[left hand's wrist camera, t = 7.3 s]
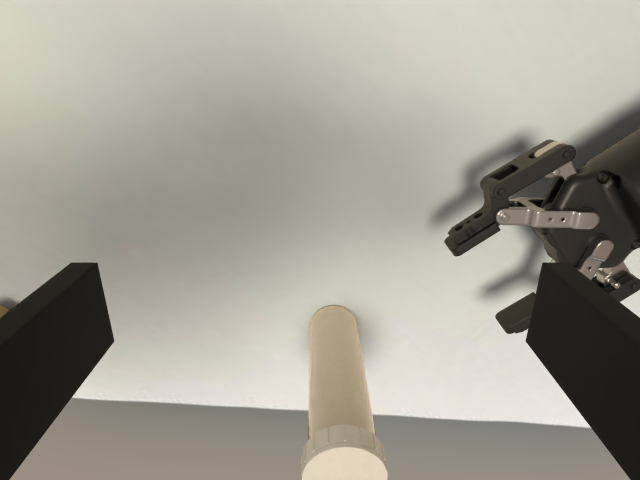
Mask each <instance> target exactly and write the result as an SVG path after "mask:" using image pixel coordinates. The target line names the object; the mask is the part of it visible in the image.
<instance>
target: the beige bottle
mask: <svg viewBox="0 0 640 480" xmlns="http://www.w3.org/2000/svg"><path fill="white" fill-rule="evenodd" d="M343 424H344V425H354V426H358V427H359V426H360V427H362V428H364V429H366V430H368V431H370V432H371V433H374V435H375V428H374V422H373V416H372V410H371V404H370V398H369V392H368V386H367V380H366V374H365V368H364V362H363V356H362V350H361V344H360V338H359V332H358V326H357V320H356V318H355V316H354V314H353V313H352V312H351V311H350V310H348V309H346V308H344V307H342V306H336V305H333V306H327V307H324V308H322V309H320V310H318V311H317V312H316V313H315V314H314V316H313V317H312V319H311V322H310V361H309V416H308V440H309V439H310V438H311V437H312V436H313V434H315V433H317V432H318V431H320V430H322V429H324V428H326V427H330V426H335V425H343ZM375 436H376V435H375Z"/></svg>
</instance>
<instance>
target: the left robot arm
mask: <svg viewBox="0 0 640 480" xmlns="http://www.w3.org/2000/svg"><path fill="white" fill-rule="evenodd" d="M113 342H114V338H113V333H112V329H111V324H110V319H109V315H108V310H107V305H106V301H105V296H104V291H103V287H102V282H101V277H100V273H99V268H98V263H70V264H69V265H68V266H67V267H65V268H64V269H63V270H61V271H60V272H59V273H57V274H56V275H55V276H54V277H52V278H51V279H50V280H48V281H47V282H46V283H45V284H43V285H42V286H41V287H39V288H38V289H37V290H36V291H34V292H33V293H32V294H30V295H29V296H28V297H27V298H25V299H24V300H23V301H21V302H20V303H19V304H18V305H16V306H15V307H14V308H12V309H11V310H10V311H9V312H7V313H6V314H5V315H3V316H2V317H1V318H0V480H9V479H10V478H11V477H12V475H13V474H14V473H15V471H16V470H17V469H18V467H19V466H20V465H21V463H22V462H23V461H24V460H25V458H26V457H27V456H28V454H29V453H30V452H31V450H32V449H33V448H34V446H35V445H36V444H37V442H38V441H39V440H40V438H41V437H42V436H43V435H44V433H45V432H46V431H47V429H48V428H49V427H50V425H51V424H52V423H53V421H54V420H55V419H56V417H57V416H58V415H59V413H60V412H61V411H62V409H63V408H64V407H65V405H66V404H67V403H68V401H69V400H70V399H71V398H72V396H73V395H74V394H75V392H76V391H77V390H78V388H79V387H80V386H81V384H82V383H83V382H84V380H85V379H86V378H87V376H88V375H89V374H90V373H91V371H92V370H93V369H94V367H95V366H96V365H97V363H98V362H99V361H100V359H101V358H102V357H103V355H104V354H105V353H106V351H107V350H108V349H109V347H110V346H111V345H112V344H113ZM526 342H527V344H528V345H529V346H530V347H531V349H532V350H533V351H534V353H535V354H536V355H537V357H538V358H539V359H540V361H541V362H542V363H543V365H544V366H545V367H546V369H547V370H548V371H549V373H550V374H551V375H552V376H553V378H554V379H555V380H556V382H557V383H558V384H559V386H560V387H561V388H562V390H563V391H564V392H565V394H566V395H567V396H568V398H569V399H570V400H571V402H572V403H573V404H574V405H575V407H576V408H577V409H578V411H579V412H580V413H581V415H582V416H583V417H584V419H585V420H586V421H587V423H588V424H589V425H590V427H591V428H592V429H593V431H594V432H595V433H596V435H597V436H598V437H599V438H600V440H601V441H602V442H603V444H604V445H605V446H606V448H607V449H608V450H609V452H610V453H611V454H612V456H613V457H614V458H615V460H616V461H617V462H618V464H619V465H620V466H621V467H622V469H623V470H624V471H625V473H626V474H627V475H628V477H629V478H630V479H631V480H640V318H639V317H638V316H637V315H635V314H634V313H633V312H631V311H630V310H629V309H628V308H626V307H625V306H624V305H622V304H621V303H620V302H619V301H617V300H616V299H615V298H613V297H612V296H611V295H610V294H608V293H607V292H606V291H604V290H603V289H602V288H601V287H599V286H598V285H597V284H595V283H594V282H593V281H592V280H590V279H589V278H588V277H586V276H585V275H584V274H583V273H581V272H580V271H579V270H577V269H576V268H575V267H573V266H572V265H571V264H570V263H542V268H541V273H540V277H539V282H538V287H537V291H536V296H535V301H534V305H533V310H532V315H531V319H530V324H529V329H528V333H527V338H526Z"/></svg>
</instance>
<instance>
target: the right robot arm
mask: <svg viewBox="0 0 640 480" xmlns="http://www.w3.org/2000/svg"><path fill="white" fill-rule="evenodd" d="M575 154H576V151H575V148H574V147H573V146H570V145H567V144H564V143H560V142H557V141H554V140H546V141H544V142H543V143H541V144H539V145H538V146H536V147H534V148H533V149H531V150H529V151H528V152H526V153H524V154H522V155H521V156H519V157H517V158H516V159H514V160H512V161H511V162H509V163H507V164H505V165H504V166H502V167H500V168H499V169H497V170H495V171H494V172H492V173H490V174H489V175H487V176H485V177H484V178H483V179H482V180H481V182H480V186H481V188H482V189H483V192H484V198H485V202H484V205H483V207H482V208H481V209H480V210H478V211H477V212H475V213H474V214H472V215H471V216H469V217H467V218H466V219H464V220H463V221H461V222H460V223H458V224H457V225H455V226H454V227H452V228H451V230H450V231H449V232H448V234H449V235H450V236H449V237H447V238H446V239H445V241H444V242H445V244H446V245H447V247H448V248H449V250H450V251H451V252H452V254H453V255H454V256H460V255H462V254H463V253H465V252H467V251H468V250H470V249H471V248H473V247H475V246H476V245H478V244H479V243H481V242H483V241H484V240H486V239H487V238H489V237H491V236H492V235H494V234H495V233H497V232H498V231H500V228H499V227H498V226H499V225H500V224H501V225H528V226H531V227H532V228H533V230H534V231H535V233H536V234H537V235H538V236H539V237H540V238H541V239H543V243H544V248H545V250H546V252H547V253H548V255H549V256H550V257H551V258H552V260H551V262H550V263H570V264H571V265H572V266H573V267H575V268H576V269H577V270H579V271H580V272H581V273H583V274H584V275H585V276H586V277H588V278H589V279H590V280H592V281H593V282H594V283H595V284H597V285H598V286H599V287H601V288H602V289H603V290H604V291H606V292H607V293H608V294H610V295H611V296H612V297H613V298H615V299H616V300H617V301H619V302H620V301H622V300H624V299H625V298H627V297H629V296H630V295H632V294H634V293H635V292H637V291H638V290H640V280H639V279H638V278H636V277H635V276H634V275H633V274H631V273H630V272H629V270H628V269H627V267H626V265H625V264H624V262H623V261H624V260H625V258H626V257H627V256H628V255H629V254H630V253H631V252H632V251H633V250H635V249H637V248H640V128H639V129H637V130H636V131H634V132H633V133H631V134H629V135H628V136H626V137H625V138H623V139H622V140H620V141H618V142H617V143H615V144H614V145H612V146H611V147H609V148H607V149H606V150H604V151H603V152H601V153H599V154H598V155H596V156H595V157H593V158H592V159H590V160H589V161H587V162H586V163H585V165H584V166H583V167H582V168H580V169H575V167H574V164H573V162H572V160H573V159H574V157H575ZM555 176H557V177H556V179H555V180H554V182H553V184H552V185H551V187H550V189H549V191H548V193H547V195H546V197H545V198H533V197H517V198H515V199H509V198H508V197H509V196H511V195H513V194H514V193H516V192H518V191H520V190H521V189H523V188H525V187H527V186H528V185H530V184H532V183H534V182H535V181H537V180H539V179H541V178H542V177H546V178H553V177H555ZM598 268H603V269H602V270H598ZM595 273H596V275H597V276H595V277H594V275H595ZM535 296H536V294H535V293H534V292H533V293H531V294H529V295H527V296H526V297H524V298H522V299H521V300H519V301H517V302H515V303H514V304H512V305H510V306H509V307H507V308H505V309H503V310H502V311H500V312H498V313H497V314H496V316H495V317H496V319H497V321H498V322H499V324H500V325H501V326H502V328H503V329H504V331H505V332H506V333H508V334H512V333H514V332H515V333H519V332H523V331H525V330H526V329H528V328H529V324H530V319H531V315H532V310H533V305H534V301H535Z"/></svg>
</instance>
